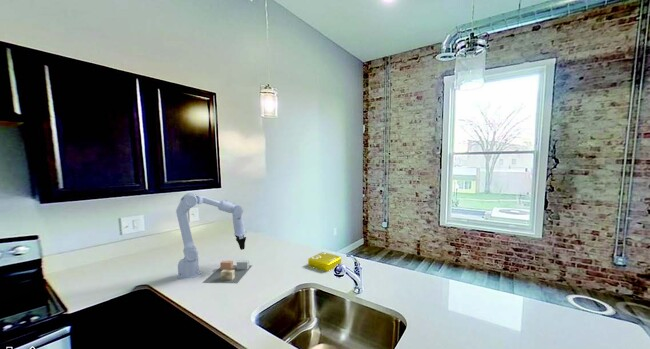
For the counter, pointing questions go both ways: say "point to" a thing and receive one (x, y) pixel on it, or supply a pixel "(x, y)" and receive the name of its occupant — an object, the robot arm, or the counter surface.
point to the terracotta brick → (226, 265)
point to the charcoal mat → (217, 279)
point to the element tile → (324, 261)
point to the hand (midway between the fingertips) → (241, 247)
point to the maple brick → (227, 274)
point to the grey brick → (243, 264)
